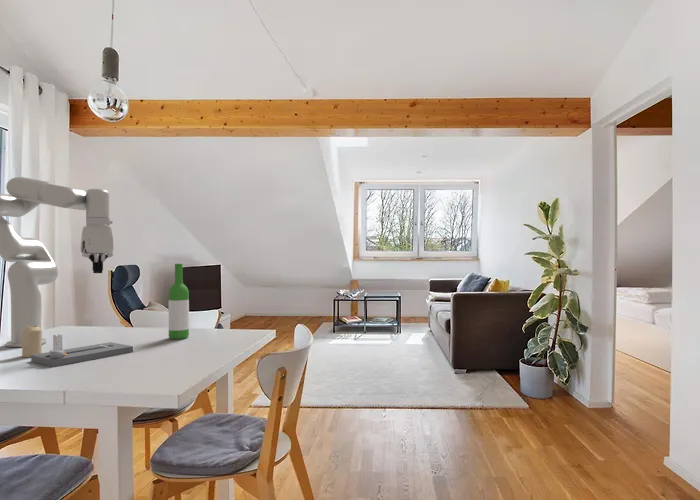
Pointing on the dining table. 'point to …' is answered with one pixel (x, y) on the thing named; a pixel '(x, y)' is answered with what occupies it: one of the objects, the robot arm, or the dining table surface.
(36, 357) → the console
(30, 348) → the candle
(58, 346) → the fader
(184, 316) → the wine bottle
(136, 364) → the dining table surface
